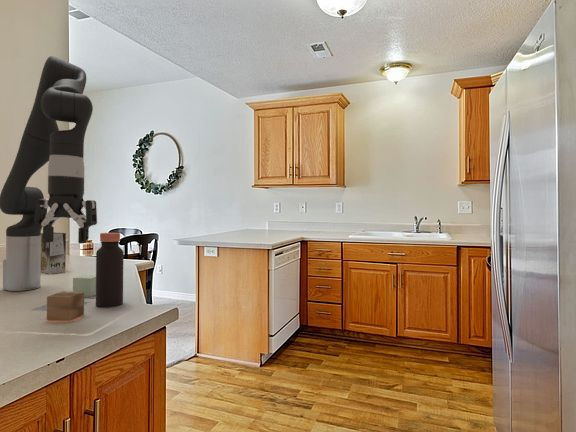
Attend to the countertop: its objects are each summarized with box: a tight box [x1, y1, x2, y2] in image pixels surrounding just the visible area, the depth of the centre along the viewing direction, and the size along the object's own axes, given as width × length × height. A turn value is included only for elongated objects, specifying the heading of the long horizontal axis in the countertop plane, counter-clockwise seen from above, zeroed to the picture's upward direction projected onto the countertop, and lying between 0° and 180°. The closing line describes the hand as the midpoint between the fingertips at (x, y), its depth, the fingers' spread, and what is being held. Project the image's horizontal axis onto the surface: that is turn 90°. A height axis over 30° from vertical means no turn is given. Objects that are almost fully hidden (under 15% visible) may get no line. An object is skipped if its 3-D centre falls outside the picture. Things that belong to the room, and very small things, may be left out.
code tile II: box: [84, 295, 96, 300], centre depth 112 cm, size 10×10×1 cm
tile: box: [31, 301, 90, 312], centre depth 99 cm, size 10×10×1 cm
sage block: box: [72, 274, 96, 297], centre depth 112 cm, size 6×6×6 cm
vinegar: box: [95, 232, 125, 309], centre depth 102 cm, size 7×7×20 cm
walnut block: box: [46, 290, 85, 321], centre depth 89 cm, size 6×6×6 cm
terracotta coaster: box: [45, 313, 85, 324], centre depth 89 cm, size 8×8×1 cm
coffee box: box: [41, 231, 67, 275], centre depth 152 cm, size 9×6×16 cm
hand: (65, 242), depth 90 cm, fingers open, 8 cm apart
